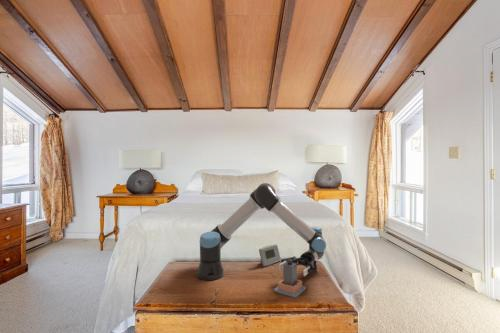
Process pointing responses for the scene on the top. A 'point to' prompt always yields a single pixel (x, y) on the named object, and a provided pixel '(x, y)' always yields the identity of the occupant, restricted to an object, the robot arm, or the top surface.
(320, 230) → the robot arm
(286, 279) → the bottle
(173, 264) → the top surface
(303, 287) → the end holder
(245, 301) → the top surface
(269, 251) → the digital clock
